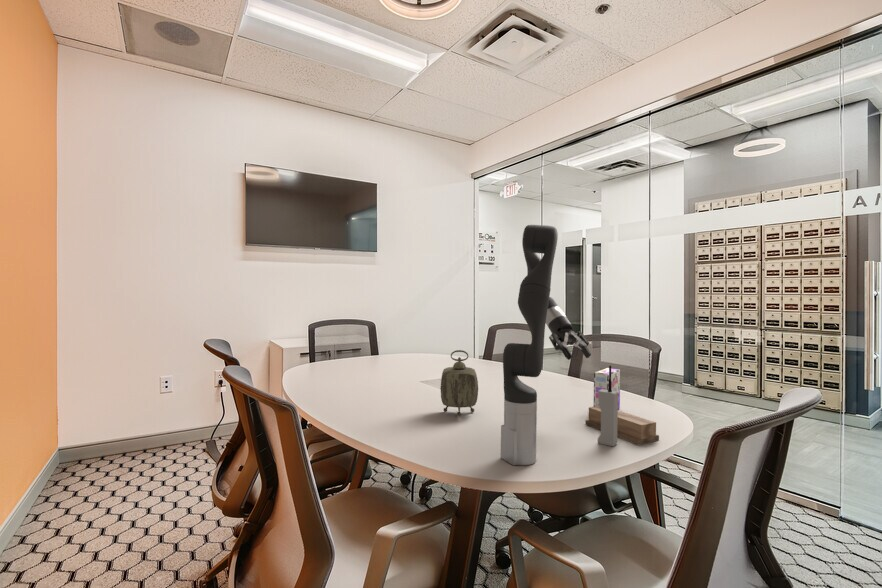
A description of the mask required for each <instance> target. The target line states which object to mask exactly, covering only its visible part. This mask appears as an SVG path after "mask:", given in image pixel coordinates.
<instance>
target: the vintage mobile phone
mask: <svg viewBox="0 0 882 588" xmlns="http://www.w3.org/2000/svg"><path fill="white" fill-rule="evenodd" d="M608 368H609V389H608V390H605V389H601V390H599V391H598V395H599V407H600V409H601V430H600V435H599V436H598V438H597V443H598V444H599V445H605V446H608V447H615V446H616V445H617V444H618V437H617V424H618V410H619V409H618V392H617V391H612V390H611V369H612V365H609V367H608Z"/></svg>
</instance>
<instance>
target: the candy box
mask: <svg viewBox="0 0 882 588" xmlns="http://www.w3.org/2000/svg"><path fill="white" fill-rule="evenodd" d="M601 389H605V390H608V389H609V367H606V368H604V369H601V370H597V371H594V373H593V406H592V407H594V406H599V395H598V391H599V390H601ZM611 390H612V391H617V392H618V410H620V409H621V405H620V404H621V402H620V401H621V369H619V368H618V369H617V368H611ZM619 408H620V409H619Z"/></svg>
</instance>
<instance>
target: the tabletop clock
mask: <svg viewBox="0 0 882 588" xmlns="http://www.w3.org/2000/svg"><path fill="white" fill-rule="evenodd" d="M454 353H464V354H465V355H466V356H467V357H466V358H461V357H460V356H459V357H458V358H454V357H453V354H454ZM450 358H451V359H452V360H453V361H455V362H454V363H453V365H452V366H449V367H445V368H443V371H442V373H441V380H440V388H439V390H440V398H441V402H442V405H443V406H445V407H444V408H443V412H444V413H446V412H448V408H450V407H451V408H458V409H457V410H458V411H457V413H456V415H457V416H458V417H460V416H462V413H461V409H462V408H469V409H470V410H469V411H470V412H471V413H474V412H475V408H473V407H475V406H476V403H477V402H478V397H479V381H478V376H477V372H476V369H474V368H472V367H468V366H466V364H465V363H464V361H466V360H468V359H469V353H468V352H467V351H465V350H462V349H459V350H454V351H452V352H451V353H450Z"/></svg>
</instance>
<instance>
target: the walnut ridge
mask: <svg viewBox="0 0 882 588" xmlns="http://www.w3.org/2000/svg"><path fill="white" fill-rule="evenodd" d="M593 406H594V405H593ZM593 406H589V407H588V419H586V420H585V425H586V424H587V425H586V426H588V425H589V426H588V427H591V428H594V429H596V430H599V431H601V409H600V407H599V406H594V407H593ZM617 438H620V439H622V440H624V441H628V442H630V443H633V444H635V445H637V446H639V445H642V444H646V443H651V442H652V443H653V442H657V441H659V440H660V435H659V434H657V422H656V421H654V420H651V419H647V418H644V417H640V416H638V415H635V414H631V413H628V412H625V411H622V410H620V409H618V424H617Z"/></svg>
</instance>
